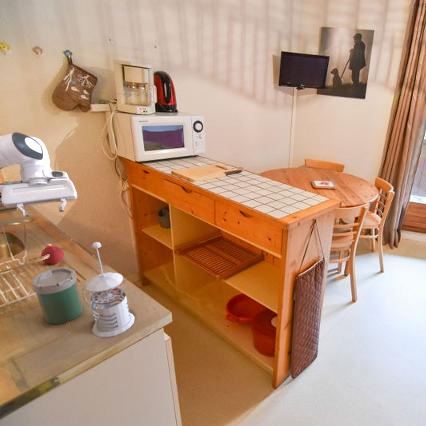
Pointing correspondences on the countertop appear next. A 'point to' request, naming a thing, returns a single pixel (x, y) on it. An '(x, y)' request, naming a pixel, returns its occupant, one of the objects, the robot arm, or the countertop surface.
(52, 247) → the onion
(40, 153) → the robot arm
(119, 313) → the french press
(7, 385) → the countertop surface
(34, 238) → the countertop surface
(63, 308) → the jar
